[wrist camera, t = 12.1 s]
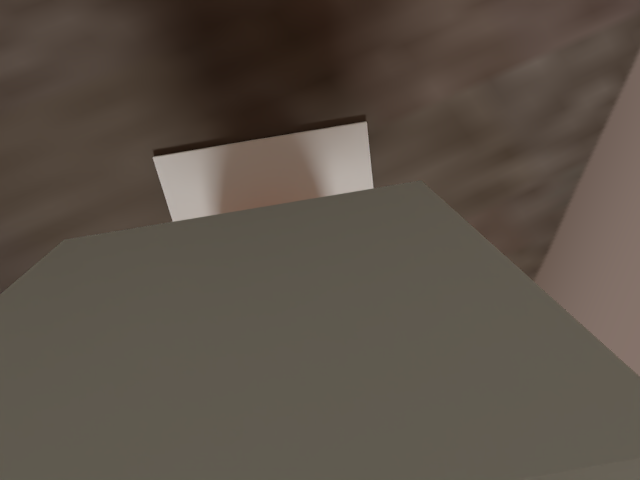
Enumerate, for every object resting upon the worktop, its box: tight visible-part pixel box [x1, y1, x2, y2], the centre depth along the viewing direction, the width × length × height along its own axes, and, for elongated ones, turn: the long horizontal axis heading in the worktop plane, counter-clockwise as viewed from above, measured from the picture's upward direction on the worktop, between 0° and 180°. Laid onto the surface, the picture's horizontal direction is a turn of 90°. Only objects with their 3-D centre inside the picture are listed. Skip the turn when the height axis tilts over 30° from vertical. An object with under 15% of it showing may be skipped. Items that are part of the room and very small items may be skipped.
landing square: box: [153, 121, 373, 222], centre depth 20 cm, size 9×9×1 cm
